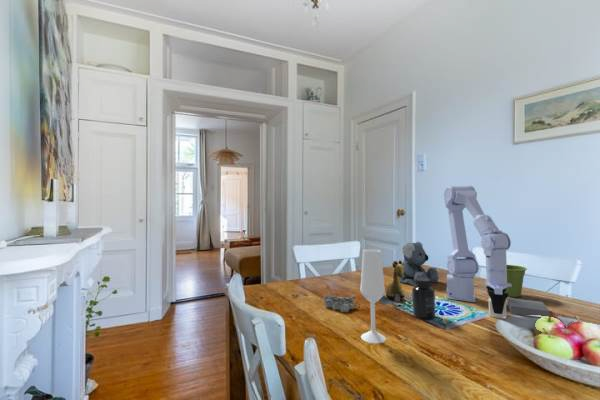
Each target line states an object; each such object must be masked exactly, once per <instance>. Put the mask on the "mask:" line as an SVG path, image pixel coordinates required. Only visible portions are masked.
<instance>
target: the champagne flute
mask: <svg viewBox="0 0 600 400" xmlns="http://www.w3.org/2000/svg"><path fill="white" fill-rule="evenodd" d="M383 270H384V269H383V261H382V251H381V250H380V249H373V248H371V249H368V248H367V249H363V250H362V261H361V274H360V289H359V291H360V293H361V295H362V296H363V298H365V300H366V301H368V302H369V303H370V330H369V331H367V332H364V333H362V334H361V335H360V338H361V340H363V341H364V342H366V343H369V344H381V343H384V342H385V341H386V340H387V338H386V336H384V335H382V334H381V333H380V332H378V331H376V303H377V302H378V301H380V300H379V299H381V298H382V296H383V295H384V296H385V294H386V287H385V278H384V271H383Z"/></svg>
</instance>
